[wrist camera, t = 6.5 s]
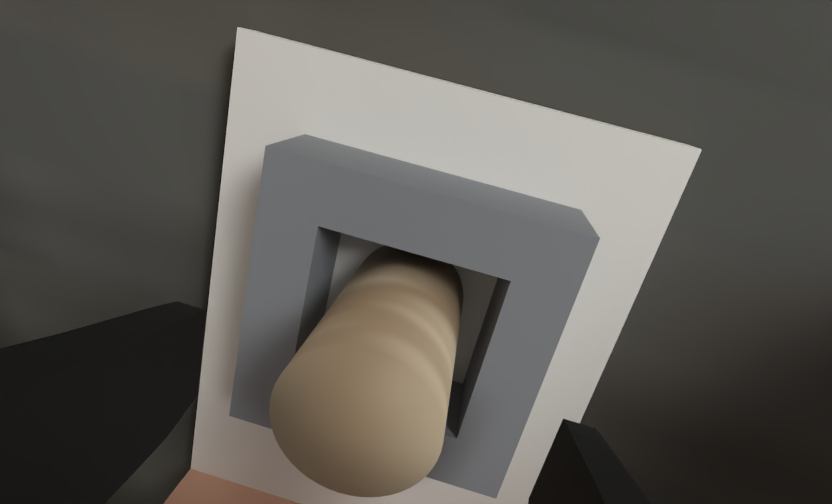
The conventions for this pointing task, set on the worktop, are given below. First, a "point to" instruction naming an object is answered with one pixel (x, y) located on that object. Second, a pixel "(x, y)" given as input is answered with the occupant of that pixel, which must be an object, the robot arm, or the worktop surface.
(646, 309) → the worktop surface
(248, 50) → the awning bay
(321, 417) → the peg
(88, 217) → the worktop surface
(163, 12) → the worktop surface
